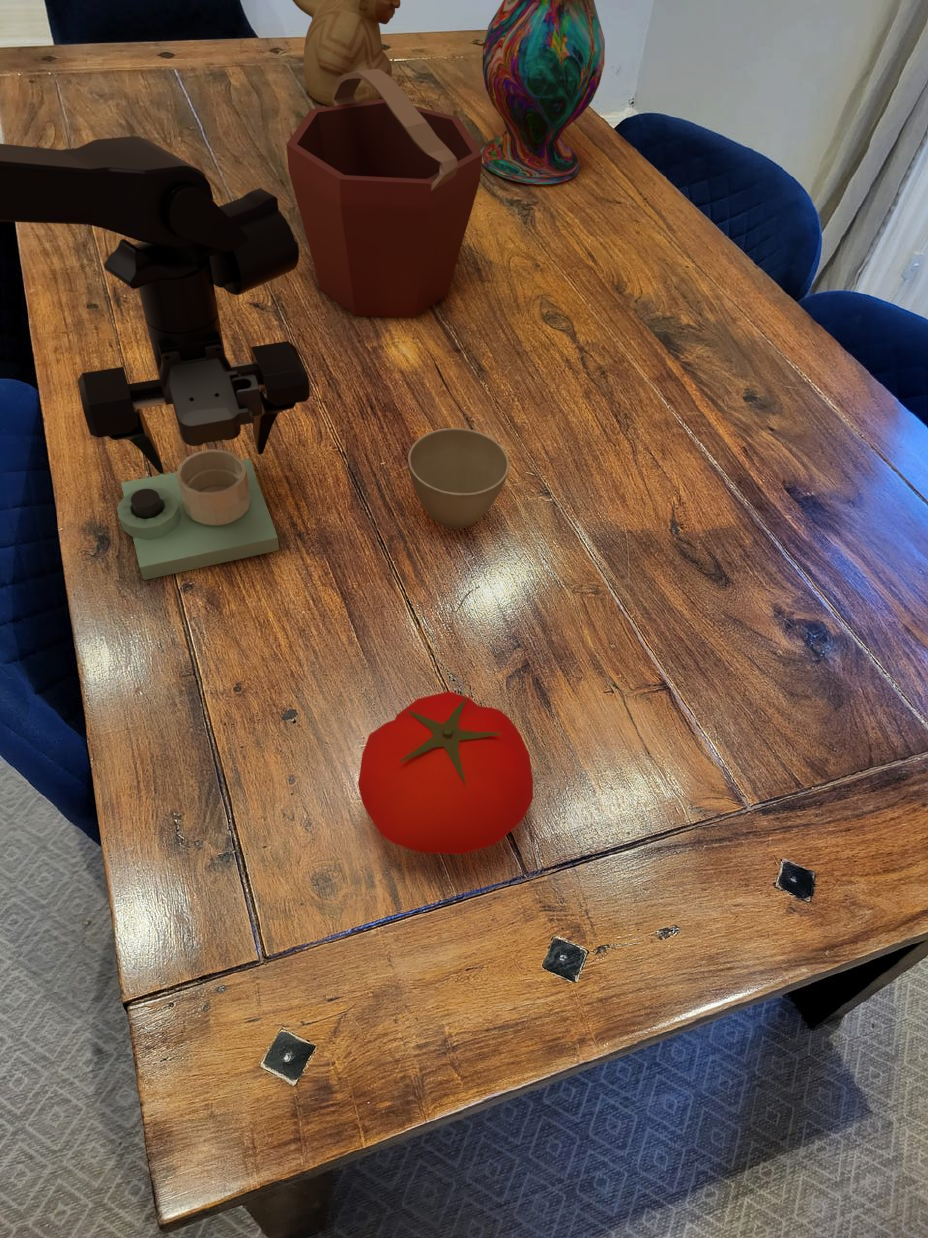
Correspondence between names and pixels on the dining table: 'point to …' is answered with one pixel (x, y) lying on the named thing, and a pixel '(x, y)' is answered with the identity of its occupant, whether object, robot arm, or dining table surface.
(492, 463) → the brown cup
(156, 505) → the button
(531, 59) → the vase
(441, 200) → the bucket
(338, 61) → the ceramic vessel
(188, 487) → the bowl
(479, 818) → the tomato
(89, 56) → the dining table surface
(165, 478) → the scale
